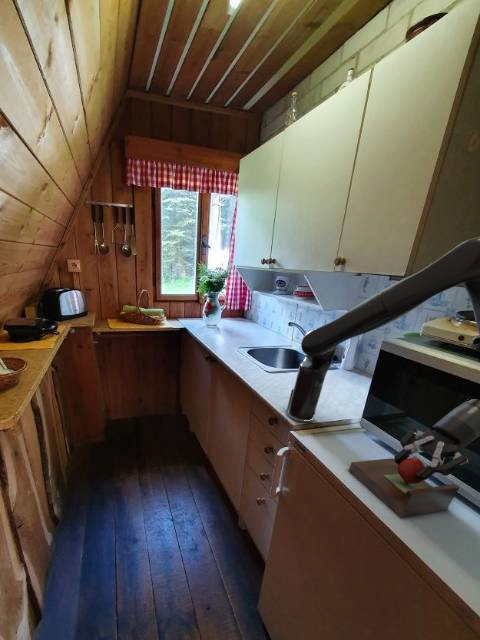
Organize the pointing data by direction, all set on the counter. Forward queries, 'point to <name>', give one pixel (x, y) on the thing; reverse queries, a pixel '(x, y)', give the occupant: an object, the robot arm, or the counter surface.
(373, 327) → the robot arm
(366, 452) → the counter surface
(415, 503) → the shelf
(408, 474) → the red pomegranate
